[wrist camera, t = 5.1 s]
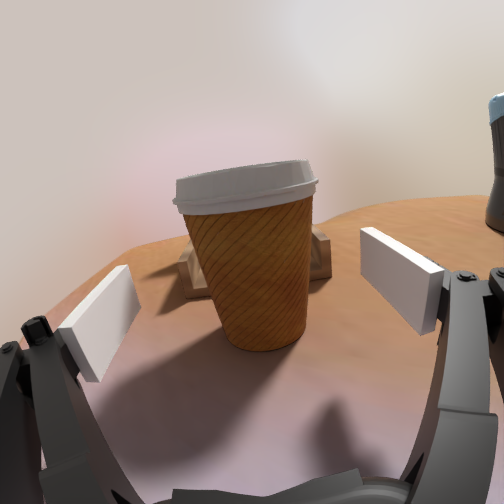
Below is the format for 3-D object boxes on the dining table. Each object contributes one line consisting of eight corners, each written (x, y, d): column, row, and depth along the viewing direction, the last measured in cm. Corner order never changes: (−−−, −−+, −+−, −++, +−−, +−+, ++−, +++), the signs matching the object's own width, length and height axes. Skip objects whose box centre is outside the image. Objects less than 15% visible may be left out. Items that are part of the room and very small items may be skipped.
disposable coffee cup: (310, 290, 26) (297, 159, 22) (344, 351, 17) (338, 158, 13) (209, 306, 26) (182, 176, 22) (200, 375, 17) (150, 186, 13)
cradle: (331, 276, 28) (323, 167, 25) (186, 298, 28) (161, 191, 25) (300, 236, 43) (291, 164, 40) (203, 250, 43) (190, 179, 40)
